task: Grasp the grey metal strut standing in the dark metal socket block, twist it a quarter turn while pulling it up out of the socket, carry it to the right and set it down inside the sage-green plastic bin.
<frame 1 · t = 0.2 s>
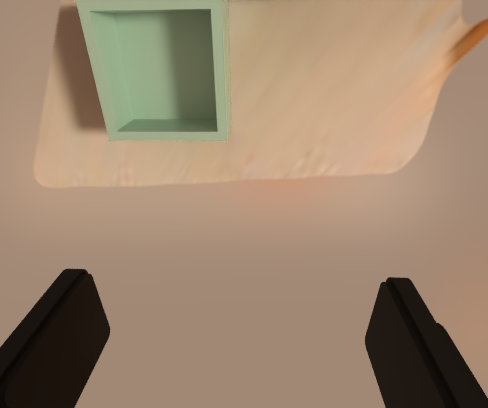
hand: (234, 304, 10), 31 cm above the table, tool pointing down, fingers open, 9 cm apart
bin: (173, 69, 35), on the table
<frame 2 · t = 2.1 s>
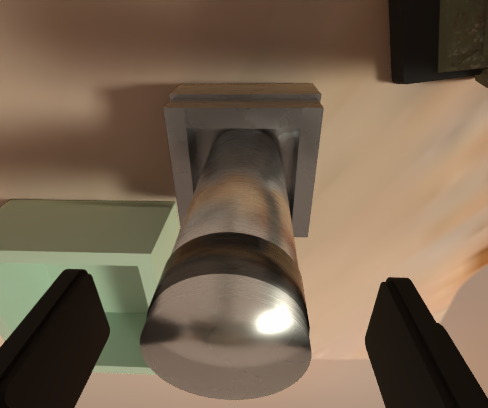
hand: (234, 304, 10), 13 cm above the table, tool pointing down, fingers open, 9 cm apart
bin: (111, 263, 27), on the table
socket block: (246, 146, 21), on the table
strut: (244, 164, 18), point 3 cm above the table, touching socket block
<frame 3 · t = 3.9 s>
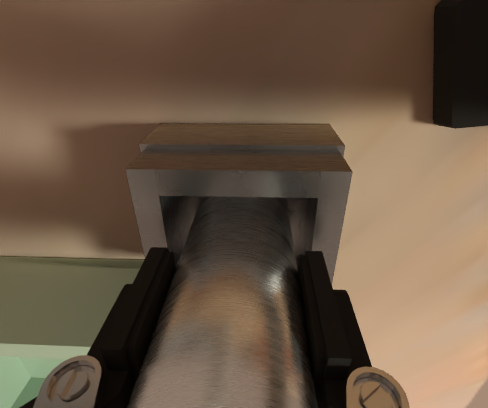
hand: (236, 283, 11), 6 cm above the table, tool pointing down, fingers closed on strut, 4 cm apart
bin: (83, 326, 22), on the table
socket block: (244, 198, 16), on the table
strut: (241, 229, 14), point 3 cm above the table, touching gripper, socket block
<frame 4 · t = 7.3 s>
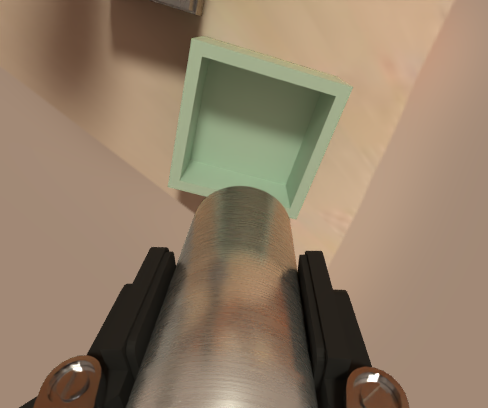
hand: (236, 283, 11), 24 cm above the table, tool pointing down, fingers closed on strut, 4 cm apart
bin: (252, 123, 32), on the table
strut: (241, 229, 14), point 20 cm above the table, touching gripper
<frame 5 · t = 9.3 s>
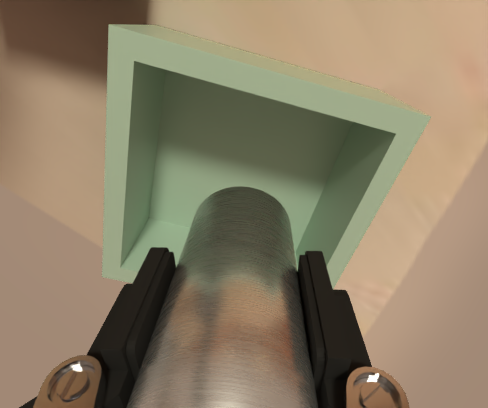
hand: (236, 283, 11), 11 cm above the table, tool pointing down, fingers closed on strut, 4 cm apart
bin: (243, 163, 20), on the table
strut: (241, 230, 14), point 7 cm above the table, touching gripper
when the fingers open (6 cm above the table, at t = 10.8 s): strut drops 2 cm, resting on bin.
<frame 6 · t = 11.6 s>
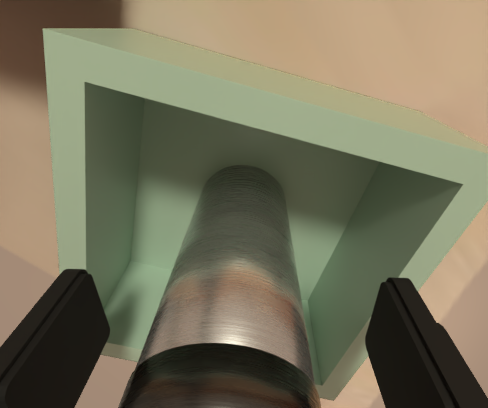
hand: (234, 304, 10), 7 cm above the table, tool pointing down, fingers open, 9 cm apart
bin: (244, 198, 16), on the table
strut: (242, 204, 16), point 1 cm above the table, touching bin
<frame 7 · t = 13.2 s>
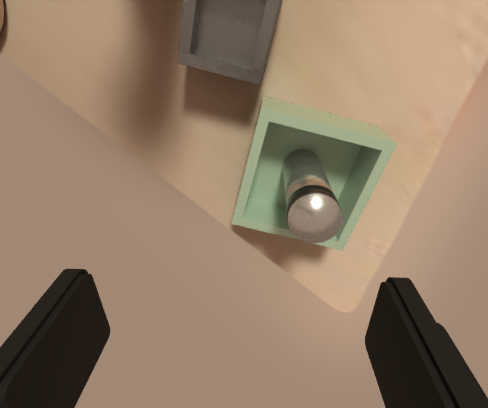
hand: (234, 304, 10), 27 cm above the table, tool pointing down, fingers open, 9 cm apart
bin: (301, 165, 36), on the table
socket block: (233, 27, 30), on the table
strut: (301, 167, 35), point 1 cm above the table, touching bin
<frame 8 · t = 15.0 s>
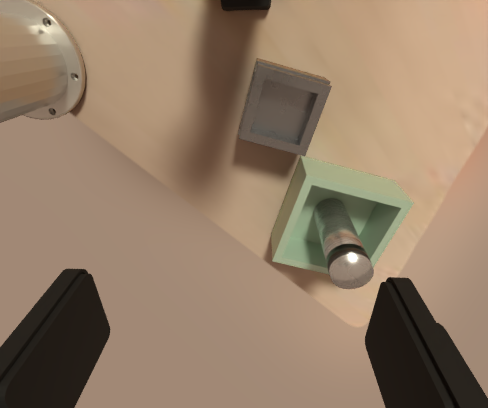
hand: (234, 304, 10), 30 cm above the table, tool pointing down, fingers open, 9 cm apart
bin: (328, 209, 43), on the table
socket block: (280, 103, 36), on the table
strut: (329, 212, 42), point 1 cm above the table, touching bin
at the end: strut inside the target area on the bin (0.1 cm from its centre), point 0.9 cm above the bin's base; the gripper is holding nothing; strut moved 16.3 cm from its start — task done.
